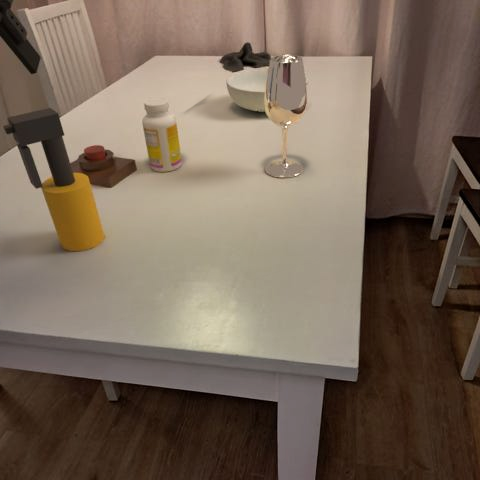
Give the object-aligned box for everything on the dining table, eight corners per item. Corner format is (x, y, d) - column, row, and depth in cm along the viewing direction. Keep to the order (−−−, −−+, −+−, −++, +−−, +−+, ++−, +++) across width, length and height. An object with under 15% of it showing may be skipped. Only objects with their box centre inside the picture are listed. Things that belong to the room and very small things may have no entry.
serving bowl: (248, 126, 113) (247, 95, 109) (216, 103, 128) (214, 76, 123) (321, 111, 119) (323, 82, 115) (283, 91, 134) (283, 64, 129)
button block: (63, 179, 95) (57, 160, 92) (90, 162, 101) (85, 144, 98) (111, 188, 91) (106, 168, 88) (137, 169, 97) (133, 150, 94)
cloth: (221, 56, 169) (220, 37, 165) (272, 54, 168) (272, 35, 164) (215, 72, 153) (213, 51, 149) (272, 70, 151) (272, 49, 147)
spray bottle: (57, 261, 72) (9, 129, 59) (43, 242, 76) (-5, 115, 63) (111, 241, 76) (77, 113, 62) (94, 224, 80) (59, 101, 67)
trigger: (36, 189, 67) (22, 149, 63) (30, 183, 68) (16, 144, 64) (43, 187, 67) (29, 147, 63) (37, 181, 69) (23, 142, 65)
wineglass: (307, 176, 90) (313, 62, 77) (267, 179, 90) (266, 65, 77) (300, 160, 96) (304, 51, 83) (262, 163, 96) (261, 54, 83)
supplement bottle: (181, 158, 100) (172, 94, 92) (183, 171, 95) (174, 104, 87) (149, 162, 99) (138, 98, 91) (150, 174, 94) (138, 108, 86)
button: (81, 160, 93) (79, 151, 91) (94, 152, 95) (92, 144, 94) (98, 162, 91) (95, 153, 90) (110, 155, 94) (108, 146, 93)
